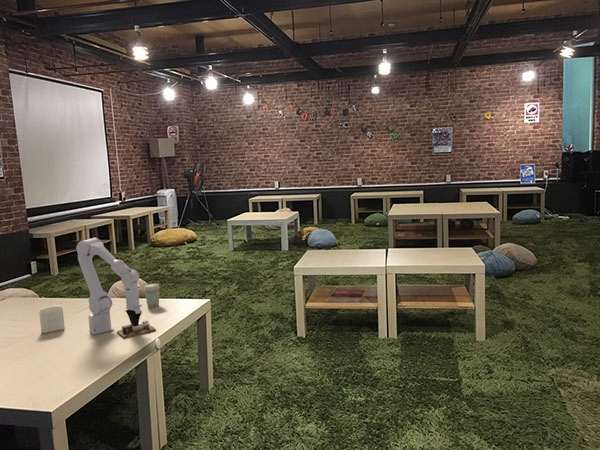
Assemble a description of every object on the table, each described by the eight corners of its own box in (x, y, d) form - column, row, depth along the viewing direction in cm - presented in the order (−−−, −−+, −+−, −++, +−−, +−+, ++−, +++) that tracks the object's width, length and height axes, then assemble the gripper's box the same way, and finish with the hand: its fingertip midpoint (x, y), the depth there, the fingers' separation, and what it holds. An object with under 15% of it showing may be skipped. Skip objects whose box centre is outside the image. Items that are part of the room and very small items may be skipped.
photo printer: (64, 327, 249) (61, 302, 248) (65, 329, 246) (62, 304, 244) (40, 331, 244) (37, 307, 242) (42, 334, 240) (39, 309, 238)
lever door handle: (124, 333, 232) (123, 328, 232) (122, 331, 235) (121, 326, 235) (150, 327, 239) (149, 321, 239) (147, 325, 242) (147, 320, 241)
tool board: (123, 338, 229) (122, 332, 228) (117, 332, 237) (116, 326, 237) (155, 330, 237) (155, 324, 237) (148, 325, 246) (148, 319, 245)
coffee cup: (151, 309, 272) (149, 288, 270) (142, 307, 277) (140, 286, 275) (164, 305, 278) (162, 284, 277) (155, 303, 284) (153, 282, 282)
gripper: (146, 298, 231) (148, 327, 233) (135, 292, 243) (138, 319, 245) (130, 301, 227) (133, 330, 229) (120, 294, 239) (123, 322, 241)
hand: (134, 325), depth 236 cm, fingers closed on lever door handle, 3 cm apart
